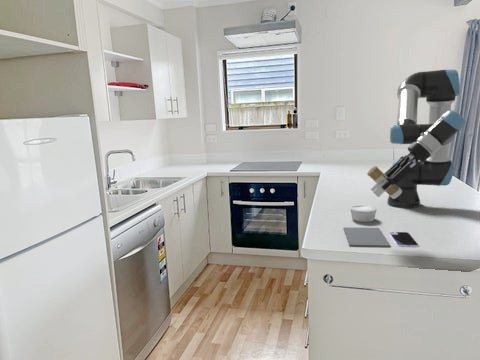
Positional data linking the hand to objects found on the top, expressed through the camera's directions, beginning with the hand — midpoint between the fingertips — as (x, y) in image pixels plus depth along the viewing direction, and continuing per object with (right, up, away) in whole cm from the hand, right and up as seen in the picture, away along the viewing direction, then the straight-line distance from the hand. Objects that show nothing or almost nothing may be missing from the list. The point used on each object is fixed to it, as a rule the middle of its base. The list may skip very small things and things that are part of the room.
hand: (374, 193), depth 133 cm
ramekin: (+5, -13, +26) cm, 30 cm away
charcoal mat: (-2, -17, +4) cm, 18 cm away
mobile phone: (+11, -18, 0) cm, 21 cm away
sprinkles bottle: (-2, +9, -1) cm, 9 cm away
